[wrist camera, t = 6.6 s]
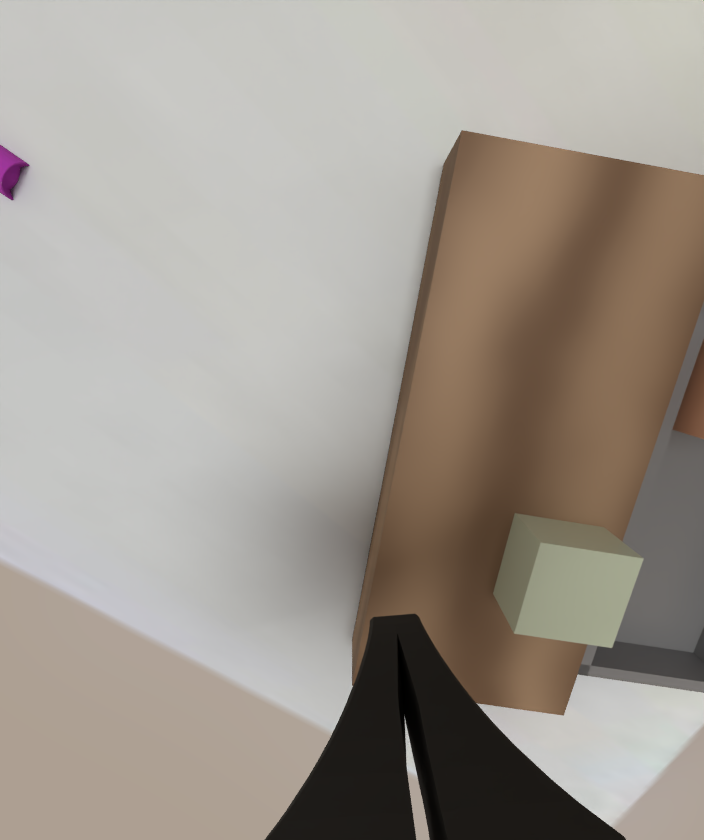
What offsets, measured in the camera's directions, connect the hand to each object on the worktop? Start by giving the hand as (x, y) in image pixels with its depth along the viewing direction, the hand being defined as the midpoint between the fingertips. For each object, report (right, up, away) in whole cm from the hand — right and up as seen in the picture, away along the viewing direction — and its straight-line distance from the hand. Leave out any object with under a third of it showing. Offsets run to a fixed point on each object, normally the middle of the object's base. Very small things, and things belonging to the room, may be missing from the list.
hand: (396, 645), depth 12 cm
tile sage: (+7, 0, +6) cm, 10 cm away
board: (+6, +5, +8) cm, 11 cm away
